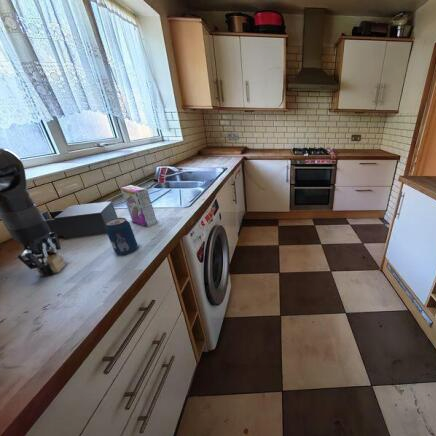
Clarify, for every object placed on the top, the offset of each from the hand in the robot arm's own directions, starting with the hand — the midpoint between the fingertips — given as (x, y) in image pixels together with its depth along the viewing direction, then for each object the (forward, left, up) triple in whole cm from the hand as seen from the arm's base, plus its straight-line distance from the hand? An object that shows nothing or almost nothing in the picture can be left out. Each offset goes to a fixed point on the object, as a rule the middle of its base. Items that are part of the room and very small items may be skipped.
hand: (53, 269), depth 72 cm
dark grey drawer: (-11, +28, +1) cm, 30 cm away
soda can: (+19, +5, -1) cm, 20 cm away
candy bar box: (+20, +28, -1) cm, 34 cm away
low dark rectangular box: (+1, +28, 0) cm, 28 cm away
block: (0, 0, 0) cm, 0 cm away
